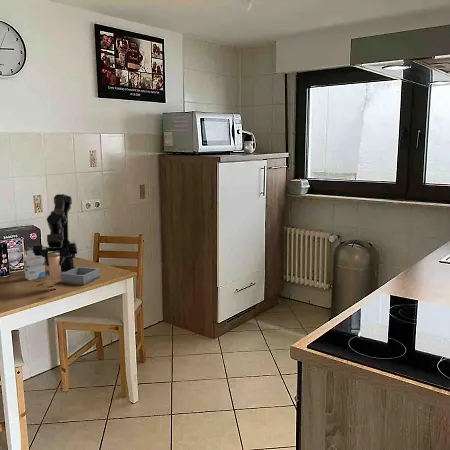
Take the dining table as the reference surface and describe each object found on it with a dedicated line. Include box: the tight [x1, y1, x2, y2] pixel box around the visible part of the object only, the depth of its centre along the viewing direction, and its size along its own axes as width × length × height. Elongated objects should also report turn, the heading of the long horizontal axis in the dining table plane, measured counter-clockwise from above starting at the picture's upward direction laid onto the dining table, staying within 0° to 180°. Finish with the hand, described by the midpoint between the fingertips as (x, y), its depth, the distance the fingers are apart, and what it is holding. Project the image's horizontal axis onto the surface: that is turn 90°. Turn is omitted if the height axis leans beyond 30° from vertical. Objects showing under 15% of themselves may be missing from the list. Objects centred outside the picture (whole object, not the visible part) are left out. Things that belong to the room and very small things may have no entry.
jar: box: [48, 252, 62, 281], centre depth 205 cm, size 5×5×12 cm
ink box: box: [22, 249, 46, 281], centre depth 223 cm, size 8×5×15 cm, turn 136°
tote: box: [61, 266, 101, 286], centre depth 219 cm, size 13×13×4 cm
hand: (54, 265), depth 203 cm, fingers closed on jar, 5 cm apart
